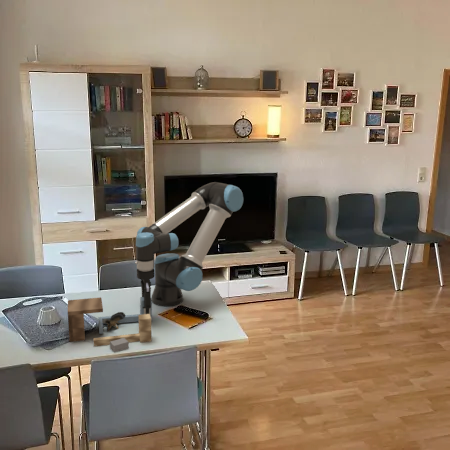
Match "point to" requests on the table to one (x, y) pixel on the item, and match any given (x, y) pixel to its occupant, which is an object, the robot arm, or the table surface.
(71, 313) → the wooden l bracket
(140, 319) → the plain l-shaped wooden block
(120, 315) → the eagle figurine
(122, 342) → the grey eraser block
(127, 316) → the crook
